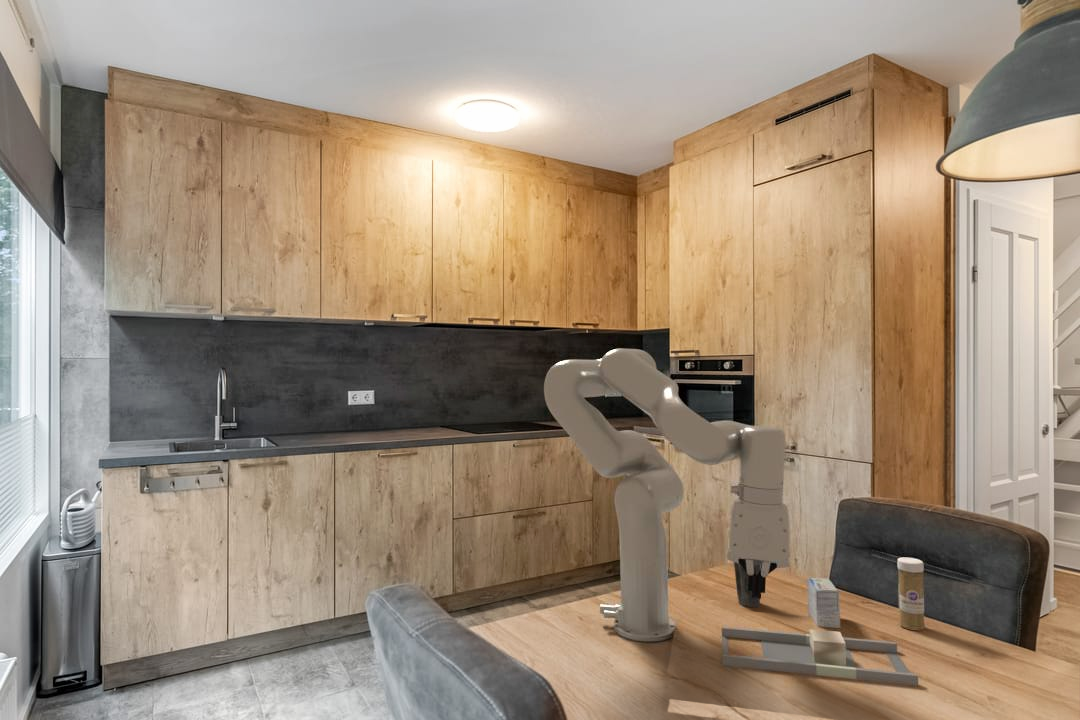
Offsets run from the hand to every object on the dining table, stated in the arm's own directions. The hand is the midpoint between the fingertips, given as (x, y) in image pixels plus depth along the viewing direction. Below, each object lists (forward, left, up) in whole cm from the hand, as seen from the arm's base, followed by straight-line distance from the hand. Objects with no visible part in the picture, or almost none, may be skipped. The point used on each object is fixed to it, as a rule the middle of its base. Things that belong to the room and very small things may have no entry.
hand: (755, 595), depth 113 cm
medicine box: (+14, +18, -12) cm, 26 cm away
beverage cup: (0, +28, -12) cm, 31 cm away
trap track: (+9, -1, -11) cm, 15 cm away
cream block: (+12, -1, -10) cm, 15 cm away
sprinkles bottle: (+31, +22, -12) cm, 40 cm away
